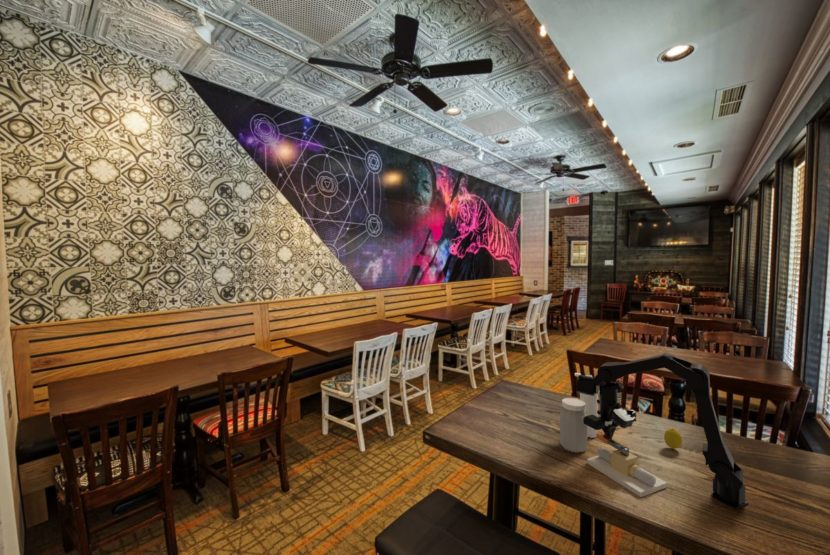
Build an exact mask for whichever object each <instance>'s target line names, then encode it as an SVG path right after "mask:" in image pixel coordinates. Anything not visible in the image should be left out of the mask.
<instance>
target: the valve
mask: <svg viewBox="0 0 830 555" xmlns="http://www.w3.org/2000/svg"><path fill="white" fill-rule="evenodd" d="M596 453H597V455H596V456H591V457H589V458H586V464H587V465H589V466H591V467H592V468H594V469H596V470H597V471H599V472H600V473H602V474H603V475H605V476H606V477H608V478H609V479H611V480H613V481H615V483H617V484H619V485H620V486H622V487H624V488H625V489H626V490H628V491H630V492H631V493H633V494H634V495H636V496H638V497H640V498H643V497H645V496H648V495H650V494H653V493H655V492H658V491H661V490H664V489H666V488H668V482H667V481H665V480H663V479H661V478H660V477H658V476H656V475H654V474H652V473H650V472H648V471H647V470H645V469H643V468H641V467H640V466H639V464H638V463H639V462H638V459H639V458H638V456H637V455H635V454H633V453H631V452H629V455H628V456H625V455H622V454H621V453H620V451H619V450H618V449H616V450H613V451H609V450H608V449H606V448H604V447H603V446H602V447H601V446H600V447H599V448H597V452H596Z"/></svg>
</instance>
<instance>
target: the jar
mask: <svg viewBox="0 0 830 555" xmlns="http://www.w3.org/2000/svg"><path fill="white" fill-rule="evenodd" d="M559 412H560V413H559V443H560V445H561V447H562V448H563V449H564V450H566V451H568V452H570V451H571V452H570V453H574V452H575V454H576V453H577V452H578V453H579V452H581V453H584V452H585V451H586V450H587V449H588V437H587V425H585V424H584V423H583V418H584V417H585V416H587V414H586V413H585V402H584V401H582V400H581V398H580V399H579V398H575V397H565V398H562V400H561V410H560V411H559ZM578 453H577V454H578ZM579 454H580V453H579Z"/></svg>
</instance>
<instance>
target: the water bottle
mask: <svg viewBox="0 0 830 555" xmlns="http://www.w3.org/2000/svg"><path fill="white" fill-rule="evenodd" d="M579 375H582V374H581V373H580V372H574V376H575V377H577V378H578V376H579ZM585 376H588V377H593V375H592V374H586V375H585ZM598 399H599V393H598V394H595V396H591V395H586V394H581V393H580V400H582V401H584V402H585V413H586V414H587V416H588V415H592V414H593V415H595V416H597V417H599V416H598V415H599V414H597V411H599V406H598V405H599V403H597V400H598ZM596 433H599V430H595V429H593V428H591V427H589V426H587V438H589V437H590V439H591V438H594V439H595V438H596Z"/></svg>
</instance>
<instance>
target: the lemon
mask: <svg viewBox="0 0 830 555" xmlns="http://www.w3.org/2000/svg"><path fill="white" fill-rule="evenodd" d="M663 440H664V442H665V445H666V446H668V447H669V448H671V450H675V449H678V448H681V447H682V444H683V437H682V435H681V433H680V432H679V431H678V430H677V429H675V428H673V427H672V428H668V429H666V430H665V432H664V436H663Z"/></svg>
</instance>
